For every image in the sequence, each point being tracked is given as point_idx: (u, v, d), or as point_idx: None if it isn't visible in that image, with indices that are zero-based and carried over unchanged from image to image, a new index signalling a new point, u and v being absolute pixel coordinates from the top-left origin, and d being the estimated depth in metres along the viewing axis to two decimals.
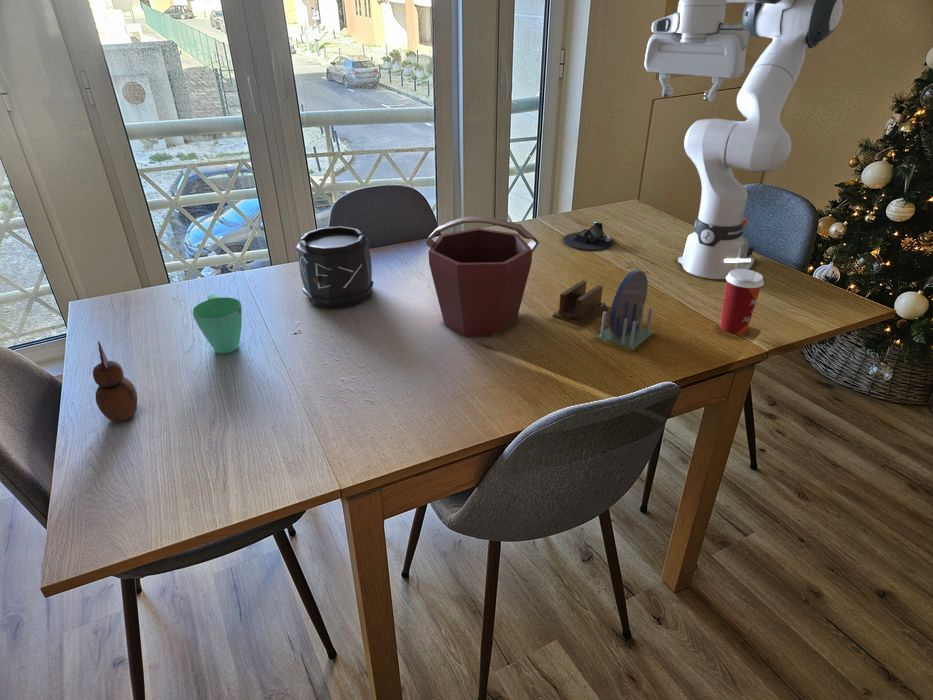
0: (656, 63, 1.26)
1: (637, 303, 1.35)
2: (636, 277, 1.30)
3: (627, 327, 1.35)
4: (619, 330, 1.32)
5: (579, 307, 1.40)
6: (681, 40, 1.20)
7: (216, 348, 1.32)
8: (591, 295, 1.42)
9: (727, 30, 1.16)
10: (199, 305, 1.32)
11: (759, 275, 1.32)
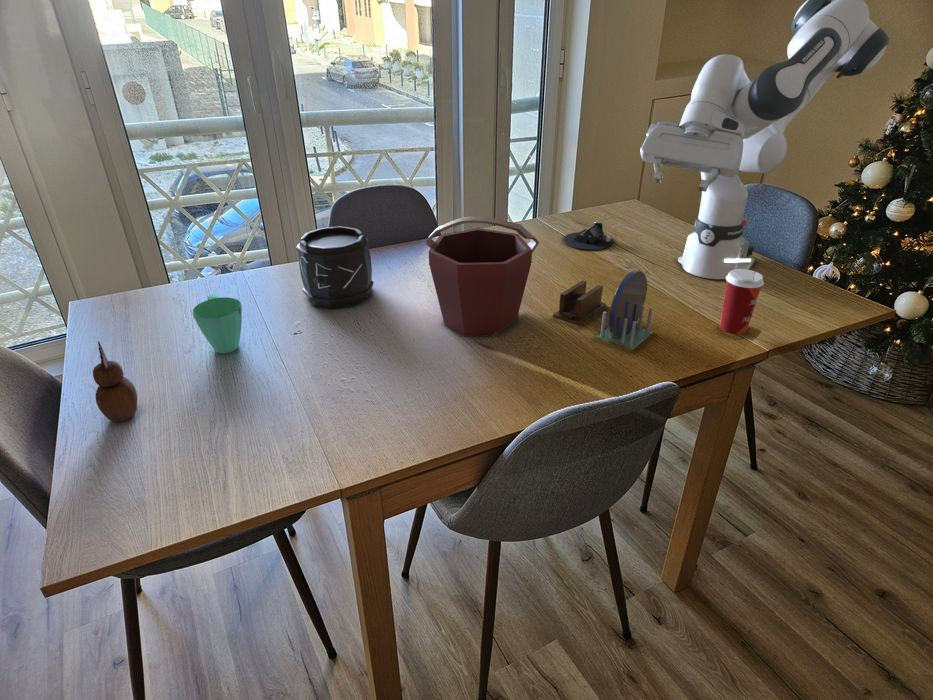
0: None
1: (637, 303, 1.35)
2: (635, 278, 1.29)
3: (627, 327, 1.35)
4: (618, 331, 1.32)
5: (579, 307, 1.40)
6: None
7: (216, 348, 1.32)
8: (591, 295, 1.42)
9: None
10: (199, 305, 1.32)
11: (759, 275, 1.32)
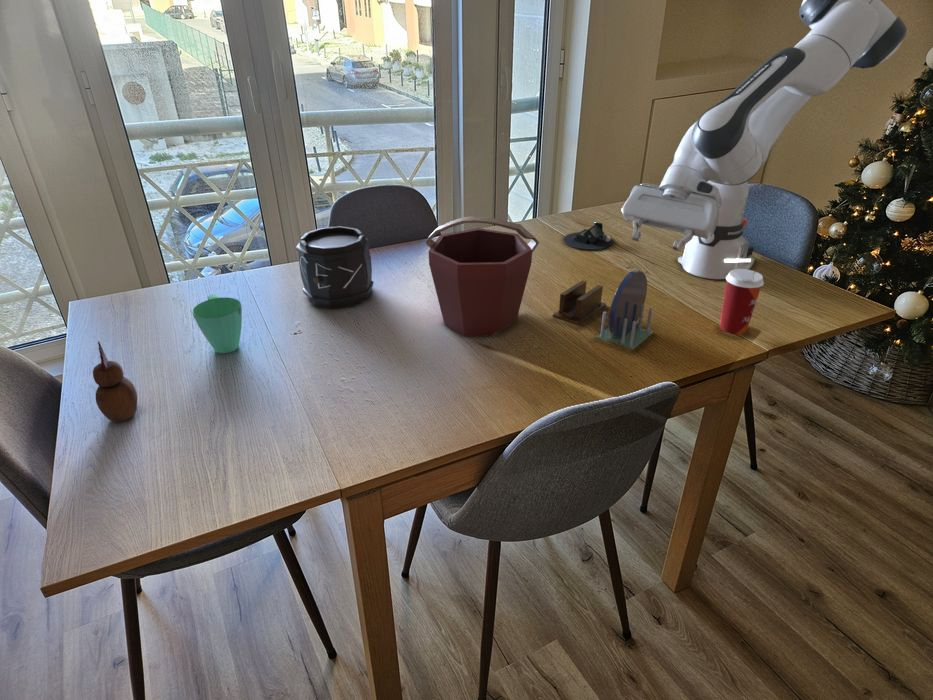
0: None
1: (637, 303, 1.35)
2: (635, 278, 1.29)
3: (627, 327, 1.35)
4: (618, 331, 1.32)
5: (579, 307, 1.40)
6: None
7: (216, 348, 1.32)
8: (591, 295, 1.42)
9: None
10: (199, 305, 1.32)
11: (759, 275, 1.32)
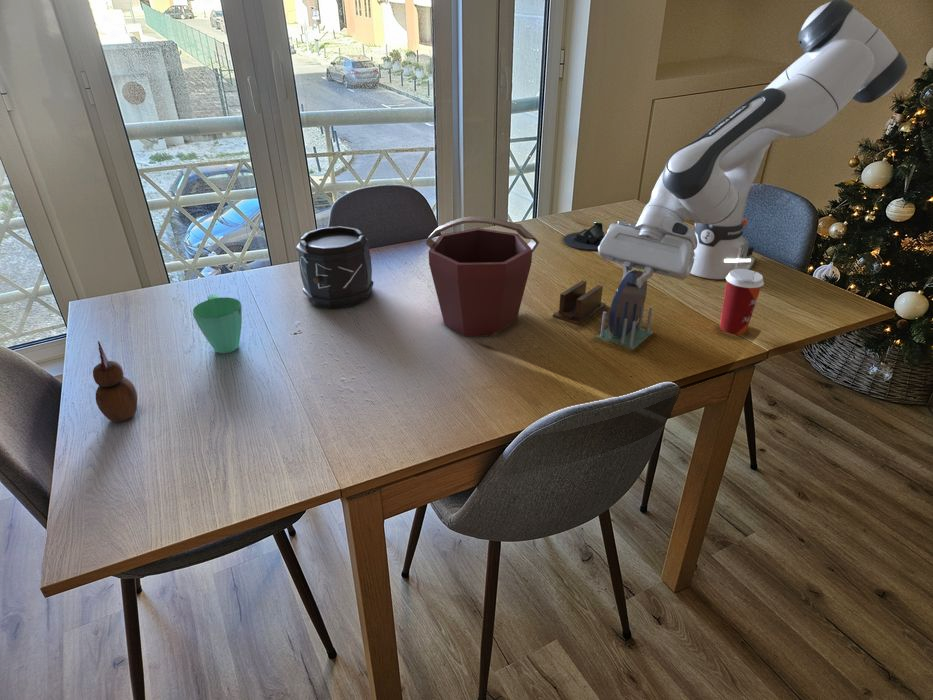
0: None
1: (637, 303, 1.35)
2: None
3: (627, 327, 1.35)
4: (618, 331, 1.32)
5: (579, 307, 1.40)
6: None
7: (216, 348, 1.32)
8: (591, 295, 1.42)
9: None
10: (199, 305, 1.32)
11: (759, 275, 1.32)
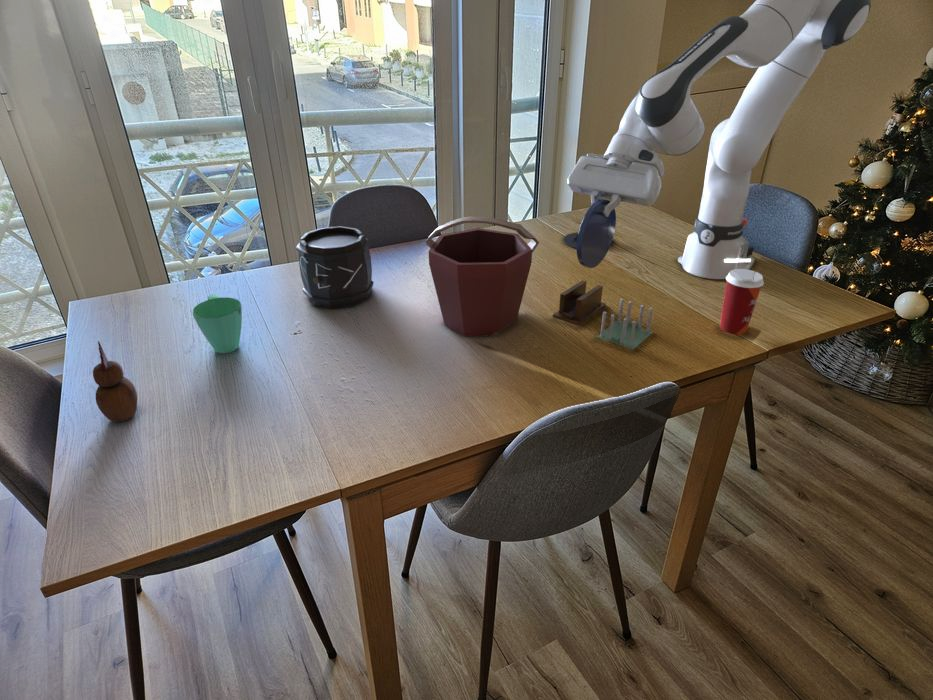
0: None
1: (606, 234, 1.36)
2: None
3: (596, 258, 1.36)
4: (587, 260, 1.33)
5: (579, 307, 1.40)
6: None
7: (216, 348, 1.32)
8: (591, 295, 1.42)
9: None
10: (199, 305, 1.32)
11: (759, 275, 1.32)
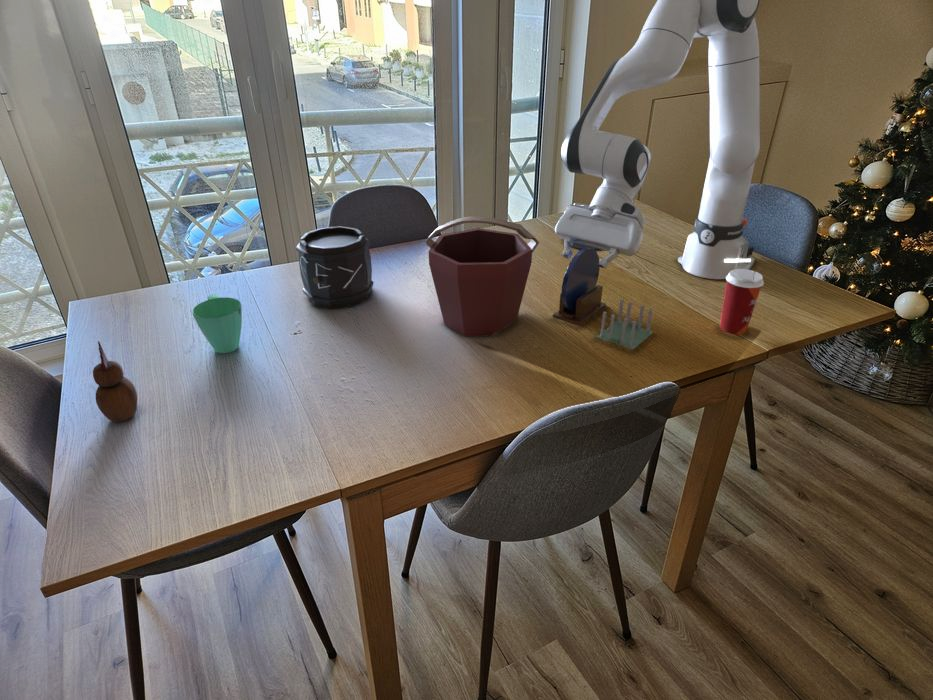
0: None
1: (590, 279, 1.45)
2: (586, 254, 1.39)
3: None
4: (571, 304, 1.42)
5: (579, 307, 1.40)
6: None
7: (216, 348, 1.32)
8: (591, 295, 1.42)
9: None
10: (199, 305, 1.32)
11: (759, 275, 1.32)
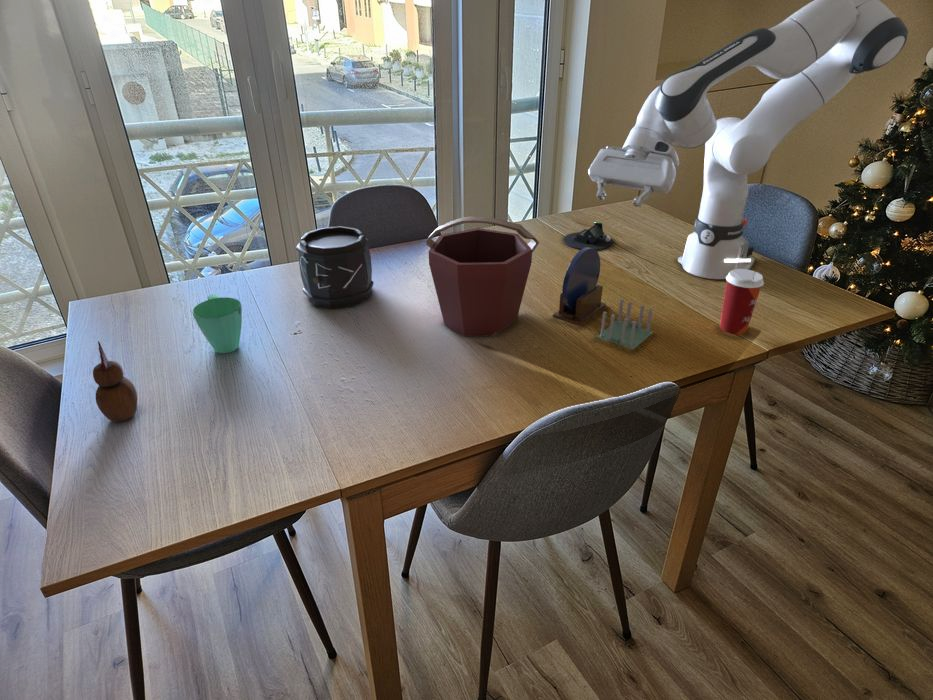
0: None
1: (590, 279, 1.45)
2: (588, 254, 1.40)
3: None
4: (572, 303, 1.42)
5: (579, 307, 1.40)
6: None
7: (216, 348, 1.32)
8: (591, 295, 1.42)
9: None
10: (199, 305, 1.32)
11: (759, 275, 1.32)
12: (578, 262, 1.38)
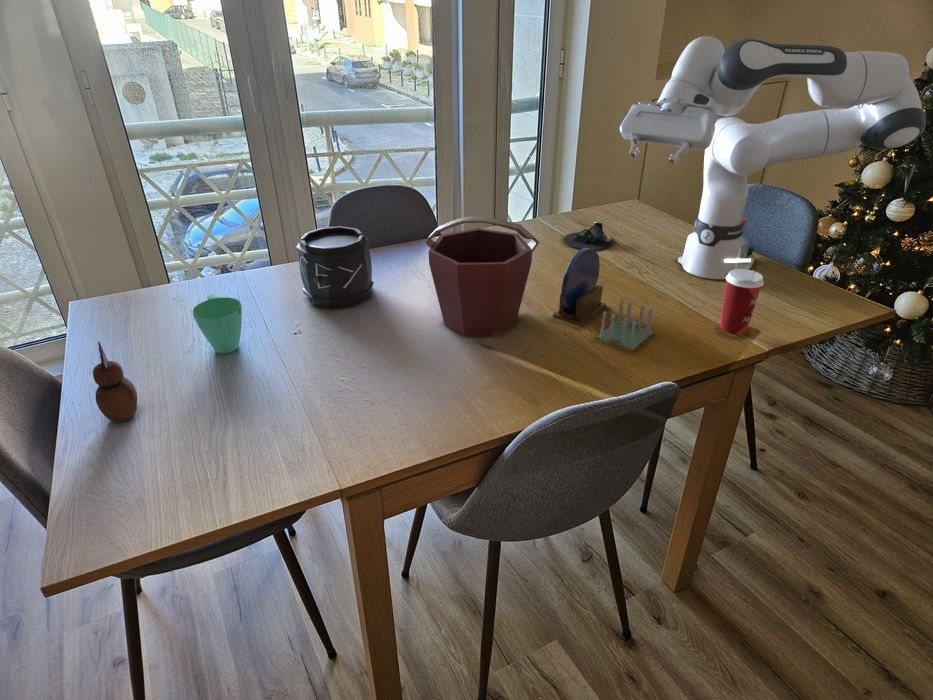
0: None
1: (590, 279, 1.45)
2: (586, 254, 1.39)
3: None
4: (571, 304, 1.42)
5: (579, 307, 1.40)
6: None
7: (216, 348, 1.32)
8: (591, 295, 1.42)
9: None
10: (199, 305, 1.32)
11: (759, 275, 1.32)
12: (577, 263, 1.37)
